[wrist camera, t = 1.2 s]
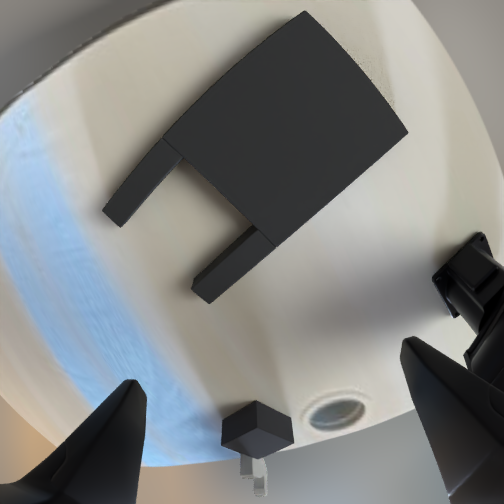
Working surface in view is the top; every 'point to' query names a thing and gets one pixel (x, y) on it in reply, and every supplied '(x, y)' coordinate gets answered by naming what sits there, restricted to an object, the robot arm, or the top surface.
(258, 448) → the dark grey rectangular block
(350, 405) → the top surface
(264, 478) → the light grey notched plate
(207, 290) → the base pad
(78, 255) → the top surface
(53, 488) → the robot arm
